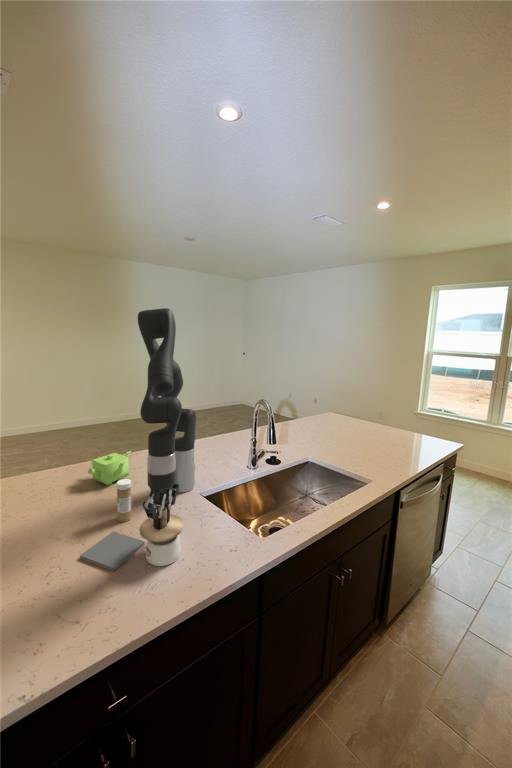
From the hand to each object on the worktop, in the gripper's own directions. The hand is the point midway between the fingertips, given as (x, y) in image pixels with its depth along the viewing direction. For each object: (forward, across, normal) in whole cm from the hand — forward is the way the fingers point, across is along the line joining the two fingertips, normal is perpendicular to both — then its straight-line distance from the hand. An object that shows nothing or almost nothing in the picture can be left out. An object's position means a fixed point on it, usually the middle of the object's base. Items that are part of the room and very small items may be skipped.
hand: (161, 524), depth 91 cm
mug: (+9, 0, 0) cm, 9 cm away
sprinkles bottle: (+9, -9, -22) cm, 25 cm away
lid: (+1, 0, 0) cm, 1 cm away
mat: (+9, +5, -13) cm, 16 cm away
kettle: (+9, -29, -47) cm, 56 cm away
